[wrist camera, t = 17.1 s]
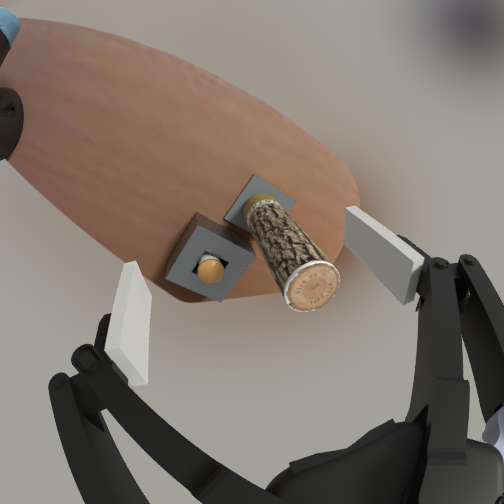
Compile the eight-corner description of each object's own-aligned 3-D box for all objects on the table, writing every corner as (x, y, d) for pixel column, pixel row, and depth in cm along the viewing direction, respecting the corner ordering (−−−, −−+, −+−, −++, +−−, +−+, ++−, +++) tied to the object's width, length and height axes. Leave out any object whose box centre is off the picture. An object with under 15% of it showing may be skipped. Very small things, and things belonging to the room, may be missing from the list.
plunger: (191, 257, 53) (193, 277, 47) (203, 238, 51) (206, 256, 45) (211, 267, 55) (215, 287, 49) (224, 249, 53) (229, 267, 47)
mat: (223, 217, 51) (224, 218, 51) (254, 173, 48) (254, 174, 48) (265, 241, 55) (265, 242, 55) (295, 201, 52) (295, 201, 52)
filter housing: (166, 261, 53) (165, 278, 48) (196, 212, 49) (197, 224, 44) (217, 284, 58) (220, 302, 53) (249, 240, 55) (256, 255, 49)
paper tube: (283, 212, 53) (347, 288, 31) (255, 232, 54) (301, 320, 32) (265, 185, 49) (326, 251, 28) (235, 207, 50) (273, 288, 29)
